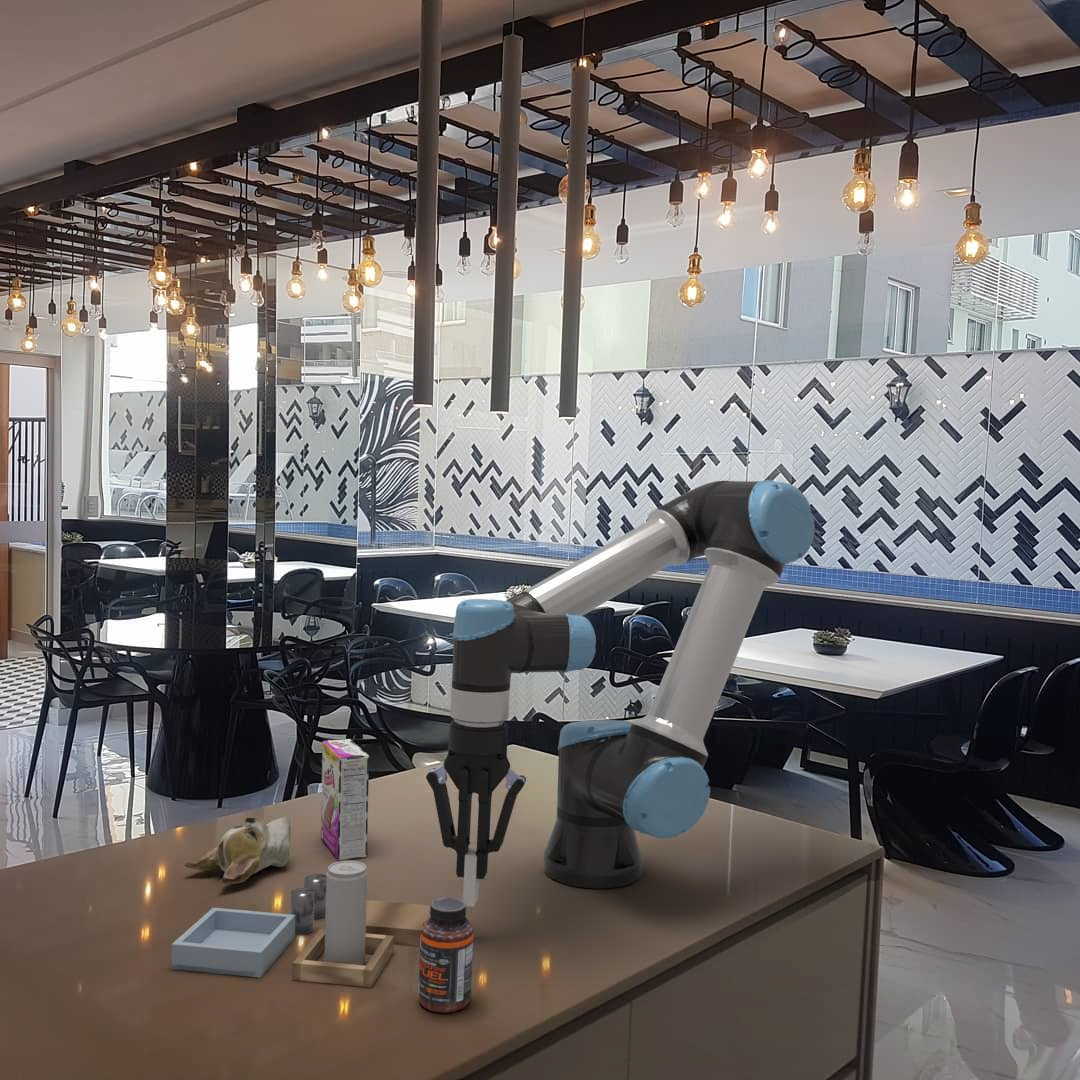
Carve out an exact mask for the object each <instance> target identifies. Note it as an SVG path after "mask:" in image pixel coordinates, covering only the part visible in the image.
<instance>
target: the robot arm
mask: <svg viewBox="0 0 1080 1080" xmlns="http://www.w3.org/2000/svg"><path fill="white" fill-rule="evenodd" d="M814 535H815V518H814V514H813V513H812V510H811V505H810V502H809V501H808V499H807V497H806V495H805V494H804V493H803V492H802V491H801V490H800V489H799V488H797V487H796V486H794V485H792V484H790V483H787V482H782V481H781V482H780V481H775V480H771V479H764V480H760V481H753V480H752V481H748V480H746V481H745V480H744V481H742V480H739V481H738V480H716V481H712V482H708V483H705V484H703V485H700V486H698V487H694V488H693V489H691V490H690V491H686V492H685V493H683V494H681V495H679V496H678V497H675V498H674V499H672V500H670V501H668V502H666V503H665V504H662V505H661V506H659V507H657V508H656V509H654V510H653V511H650V513H648V516H647V518H646V522H644V523H642V524H641V525H639V526H637V527H635V528H634V529H632V530H630V531H628V532H626V533H624V534H622V535H621V536H619V537H618V538H616V539H614V540H611V542H607V544H605V545H603V546H602V547H600V548H598V549H596V550H594V551H593V552H591V553H589V554H587V555H585V556H584V557H581V559H579V560H577V561H575V562H573V563H571V564H570V565H567V566H566V567H565V568H563V569H561V570H559V571H557V572H555V573H554V574H552V575H550V576H548V577H547V578H545V579H543V580H541V581H540V582H537V583H536V584H533V585H532V586H530V587H529V588H527V589H526V590H524V591H522V592H520V593H518V594H516V595H514V596H512V597H511V598H510V597H509V598H508V599H506V600H502V599H501V600H500V599H490V598H489V599H484V598H478V599H477V598H471V599H470V598H469V599H464V600H462V601H460V602H459V603H458V604H457V606H456V610H455V616H454V622H453V623H454V624H453V631H452V639H453V644H452V647H453V649H452V651H453V652H452V672H451V673H452V677H451V679H452V680H451V690H450V706H449V707H450V708H449V709H450V710H449V716H450V718H452V720H451V722H450V723H449V727H448V728H449V729H448V752H447V755H446V757H445V759H444V761H443V764H441V765H440V766H438V767H437V768H436V767H435V768H434V767H433V768H432V769H430V771H429V772H428V773H427V774H426V776H425V779H426V781H427V783H428V784H429V786H430V788H431V790H432V792H433V797H434V801H435V802H434V803H435V808H436V812H437V813H436V814H437V818H438V823H439V829H440V834H441V840H442V844H443V846H444V847H445V848H451V849H453V850H454V852H456V866H455V867H456V869H455V870H456V871H455V873H456V877H457V878H463V886H462V887H463V888H462V889H463V891H462V900H463V901H464V902H465V904H466V907H475V905H476V904H477V902H478V899H479V886H480V885H479V883H480V881H479V880H485V877H486V876H487V873H488V865H489V854H490V853H497V852H499V851H500V849H501V847H502V846H503V843H504V840H505V838H506V833H507V830H508V828H509V824H510V821H511V817H512V814H513V810H514V806H515V803H516V800H517V796H518V795H519V793H520V792H521V791H522V790H523V788H524V786H525V784H526V782H527V778H526V777H525V775H523V774H521V775H519V774H517V773H516V772H515V771H513V770H512V769H511V763H510V761H509V758H508V736H509V735H508V734H509V725H508V724H507V722H506V720H508V718H509V716H510V691H511V690H510V689H511V681H512V678H511V677H512V674H522V673H524V674H525V673H529V674H530V673H555V672H558V673H560V672H563V673H564V674H565V673H568V672H574V671H583V670H585V669H586V668H587V667H589V666H590V664H591V663H592V661H593V659H594V657H595V654H596V642H597V639H596V633H595V629H594V627H593V625H592V623H591V622H590V620H589V619H588V618H586V616H584V615H586V614H588V613H589V612H591V611H593V610H595V609H596V608H598V607H600V606H601V605H603V604H605V603H606V602H608V601H610V600H611V599H613V598H615V597H617V596H619V595H620V594H622V593H624V592H625V591H627V590H628V589H631V588H632V587H634V586H635V585H637V584H639V583H641V582H643V581H644V580H646V579H648V578H650V577H651V576H653V575H654V574H656V573H658V572H660V571H661V570H663V569H664V568H666V567H668V566H670V565H673V566H677V567H678V566H682V565H684V564H686V563H688V562H689V561H691V560H694V559H696V558H700V557H705V559H706V561H707V564H708V569H707V570H706V573H705V575H704V577H703V581H702V582H701V586H700V588H699V590H698V593H697V595H696V597H695V600H694V602H693V604H692V607H691V609H690V612H689V615H688V616H687V619H686V621H685V624H684V626H683V629H682V631H681V633H680V635H679V638H678V640H677V643H676V645H675V647H674V650H673V653H672V654H671V657H670V659H669V662H668V664H667V666H666V669H665V672H664V674H663V677H662V679H661V682H660V683H659V686H658V688H657V690H656V693H655V696H654V698H653V701H652V703H651V705H650V707H649V710H648V713H647V714H646V715H644V717H642V718H639V719H637V720H634V721H628V720H617V719H616V720H615V719H596V720H582V721H573V722H569V723H567V724H565V725H564V726H563V727H562V728H561V729H560V733H559V740H558V747H557V751H558V765H557V766H558V767H557V769H558V770H557V799H556V801H557V803H556V819H555V822H554V825H553V827H552V832H551V833H550V836H549V839H548V842H547V845H546V847H545V850H544V853H543V871H544V873H545V874H546V876H548V877H549V878H551V879H553V880H555V881H556V882H560V883H562V884H565V885H569V886H573V887H579V888H585V889H613V888H620V887H624V886H628V885H630V884H633V883H636V882H637V881H638V880H639V879H641V877H642V875H643V857H642V854H641V853H642V852H641V849H640V845H639V841H638V838H637V835H636V834H637V833H636V832H635V831H637V832H639V833H641V834H644V835H648V836H651V837H653V838H657V839H672V838H675V837H678V836H679V835H681V834H683V833H686V832H687V831H689V830H691V828H693V827H694V826H695V825H696V824H697V823H698V822H699V821H700V819H701V817H702V816H703V815H704V813H705V811H706V809H707V806H708V803H709V801H710V795H711V786H709V782H710V779H709V776H708V774H707V772H706V770H705V769H704V767H705V764H706V762H707V759H708V756H709V753H708V751H707V748H706V746H705V743H704V738H705V735H706V733H707V731H708V729H709V726H710V723H711V721H712V718H713V716H714V713H715V710H716V708H717V706H718V703H719V700H720V699H721V696H722V693H723V690H724V688H725V687H726V683H727V681H728V678H729V676H730V673H731V671H732V668H733V666H734V664H735V661H736V658H737V657H738V654H739V652H740V649H741V646H742V644H743V642H744V639H745V636H746V634H747V631H748V630H749V626H750V624H751V622H752V619H753V616H754V614H755V612H756V610H757V607H758V605H759V602H760V600H761V597H762V595H763V593H764V590H765V589H766V588H768V587H770V586H773V585H774V584H777V583H778V582H779V580H780V578H781V575H782V573H783V571H784V568H785V566H786V565H787V564H788V565H789V564H791V563H794V562H797V561H798V560H799V559H801V558H803V557H804V556H806V554H807V553H808V551H809V549H811V545H812V543H813V540H814ZM447 774H448V775H447ZM448 776H449V778H450V779H451V781H452V782H453V784H454V786H455V787H456V789H457V790H458V798H457V800H458V813H457V814H458V815H457V816H458V817H457V833H456V829H455V828H456V827H455V824H454V819H453V812H452V808H451V803H450V797H449V792H448V787H447V780H448ZM504 778H505V779H506V782H505V788H506V790H508V791H507V792H506V795H505V797H504V801H503V804H502V806H501V807H502V808H501V810H500V813H499V817H498V821H497V823H496V827H495V830H494V833H493V834H494V835H493V838H492V839H490V837H491V836H490V835H491V815H492V813H491V812H492V811H491V810H492V797H493V792H494V791H495V789H496V788H497V787H498V786H499V784H500V783H501V782H503V779H504ZM473 794H477V795H478V796H477V798H478V799H477V801H478V808H477V809H478V815H477V816H478V817H477V833H476V848H469V846H470V844H471V841H470V840H471V823H472V822H471V821H472V817H471V816H472V803H473V802H472V800H473V799H472V798H473Z"/></svg>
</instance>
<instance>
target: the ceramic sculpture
mask: <svg viewBox="0 0 1080 1080" xmlns="http://www.w3.org/2000/svg"><path fill="white" fill-rule="evenodd" d="M291 833H292V832H291V818H290V816H289V815H287V814H286V815H284V816H283V817H280V818H277V819H274V820H271V821H270V822H268V823H267V824H265V822H264V821H263V820H262V819H258V818H256V817H247V818H245V820H244V823H243V825H240V826H239V825H238V826H234V827H232V828H230V829H228V830H226V831H225V832H224V833H223V835H221V836H220V839H219V841H218V844H217V846H215V847H213V849H211V850H208V851H207V852H206V853H204V854H203V856H200V857H199V858H198V859H196V861H188V862H186V863H184V866H185V867H186V868H189V869H192V870H198V871H204V872H210V871H211V872H212V871H216V870H217V871H218V870H220V869H221V870H222V871H223V872H224V874H223V876H222V878H221V879H220V880H219V881H220V883H221V884H230V885H231V884H232V885H237V884H241V883H244V882H246V881H247V880H248V879H249V878H250V877H251V876H252V875H255V874H256V873H258V872H259V871H261V870H264V869H265V868H267V867H269V866H271V867H274V868H284V867H285V866H286V865H287V863H288V861H289V859H290V855H291V853H290V849H291V844H290V843H291Z"/></svg>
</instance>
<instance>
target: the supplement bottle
mask: <svg viewBox="0 0 1080 1080" xmlns="http://www.w3.org/2000/svg"><path fill="white" fill-rule="evenodd" d="M430 905H431V907H430V916H431V917H430V918H428V919H427V920H426V921H424V923H423V924H422V927H421V940H420V946H419V963H418V964H419V968H418V991H417V992H418V993H417V994H418V1002H419V1003H420V1005H421V1006H422V1007H424V1008H425V1009H427V1010H429V1011H432V1012H436V1013H441V1014H442V1013H443V1014H446V1013H452V1012H457V1011H459V1010H462V1009H464V1008H465V1007H466V1006H468V1005H469V1003H470V1001H471V996H472V995H471V994H472V976H473V975H472V974H473V952H474V925H473V923H472V922H471V921H470V919H468V918H467V917H466V916H467V912H466V911H467V910H466V909H467V906H466V904H465V902H464V901H463V899H461V898H458V897H451V896H449V897H448V896H445V897H439V898H435V899H434V900H432V901H431V902H430Z"/></svg>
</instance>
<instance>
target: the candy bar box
mask: <svg viewBox="0 0 1080 1080" xmlns="http://www.w3.org/2000/svg"><path fill="white" fill-rule="evenodd" d="M321 745H322V746H321V747H322V749H321V751H322V753H321V755H322V757H321V820H320V821H321V822H320V823H321V825H320V839H321V840H322V842H323V843H324V844H325V845H326V847H327V848H328V849H329V850H330V852H331V853H332V854H333V856H335V858H336V860H337V861H338V862H339V861H353V860H358V859H364V858H367V857H368V834H369V833H368V832H369V830H368V828H369V827H368V826H369V825H368V823H369V821H368V819H369V818H368V817H369V774H370V773H369V770H370V769H369V767H370V766H369V765H370V763H369V762H370V755H369V754H368V753H367V752H365V751H364V750H363V749H362V748H361V747H360V746H359V745H358V744H356V742H354V741H353V740H352V739H350V738H344V739H343V738H342V739H333V740H332V739H328V740H323V741H322V742H321Z"/></svg>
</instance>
